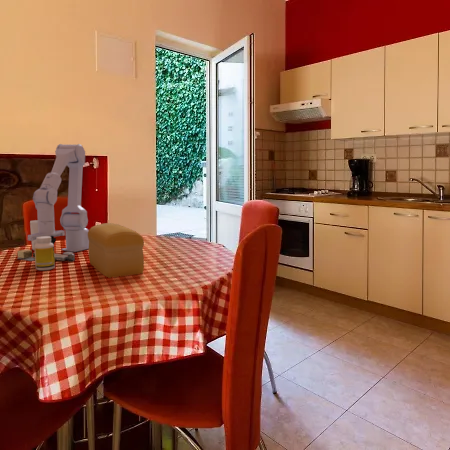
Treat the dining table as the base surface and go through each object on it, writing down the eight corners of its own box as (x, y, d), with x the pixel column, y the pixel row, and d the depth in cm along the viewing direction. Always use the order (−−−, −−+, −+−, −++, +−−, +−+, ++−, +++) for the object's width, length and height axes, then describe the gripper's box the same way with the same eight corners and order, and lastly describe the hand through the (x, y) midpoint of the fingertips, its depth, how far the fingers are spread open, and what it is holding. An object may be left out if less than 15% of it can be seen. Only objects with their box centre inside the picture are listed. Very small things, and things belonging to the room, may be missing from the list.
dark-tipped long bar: (46, 254, 159) (45, 248, 158) (78, 260, 150) (78, 253, 150) (38, 256, 156) (38, 250, 155) (71, 261, 147) (70, 255, 147)
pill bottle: (58, 268, 137) (56, 237, 136) (39, 271, 133) (37, 239, 131) (50, 265, 142) (49, 235, 140) (32, 268, 137) (30, 237, 136)
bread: (88, 263, 146) (86, 222, 144) (122, 259, 153) (121, 220, 151) (106, 278, 126) (104, 232, 124) (145, 273, 133) (144, 229, 131)
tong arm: (39, 255, 156) (38, 248, 155) (73, 259, 149) (73, 252, 149) (33, 257, 153) (32, 249, 153) (67, 261, 146) (67, 253, 146)
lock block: (26, 255, 154) (25, 249, 154) (32, 256, 153) (31, 250, 152) (17, 257, 151) (17, 250, 151) (23, 258, 150) (23, 251, 149)
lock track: (26, 256, 155) (26, 256, 155) (40, 259, 151) (40, 258, 151) (17, 258, 151) (17, 257, 151) (31, 261, 147) (31, 260, 147)
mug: (45, 250, 167) (43, 222, 165) (28, 250, 166) (27, 222, 165) (54, 245, 177) (52, 219, 175) (38, 245, 176) (37, 219, 174)
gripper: (55, 218, 156) (56, 252, 158) (21, 222, 144) (23, 259, 146) (67, 219, 153) (69, 254, 155) (34, 223, 140) (36, 261, 142)
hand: (47, 256), depth 150 cm, fingers closed, pressing on tong arm
